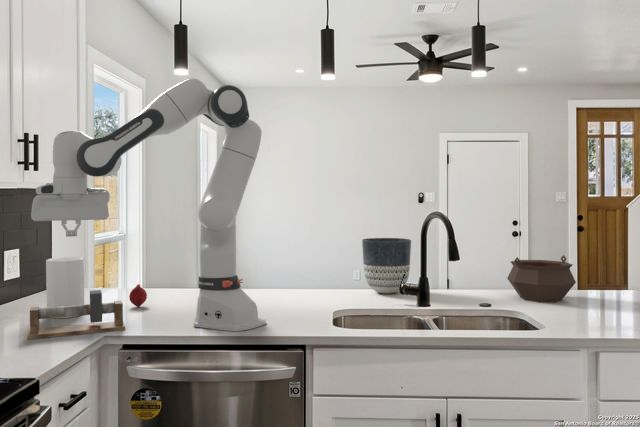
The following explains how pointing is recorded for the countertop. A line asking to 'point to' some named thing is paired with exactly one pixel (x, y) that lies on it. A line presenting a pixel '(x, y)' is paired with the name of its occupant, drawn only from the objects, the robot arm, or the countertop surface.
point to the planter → (386, 263)
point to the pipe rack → (69, 311)
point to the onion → (138, 296)
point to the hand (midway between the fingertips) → (71, 236)
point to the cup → (65, 282)
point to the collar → (96, 306)
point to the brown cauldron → (541, 279)
